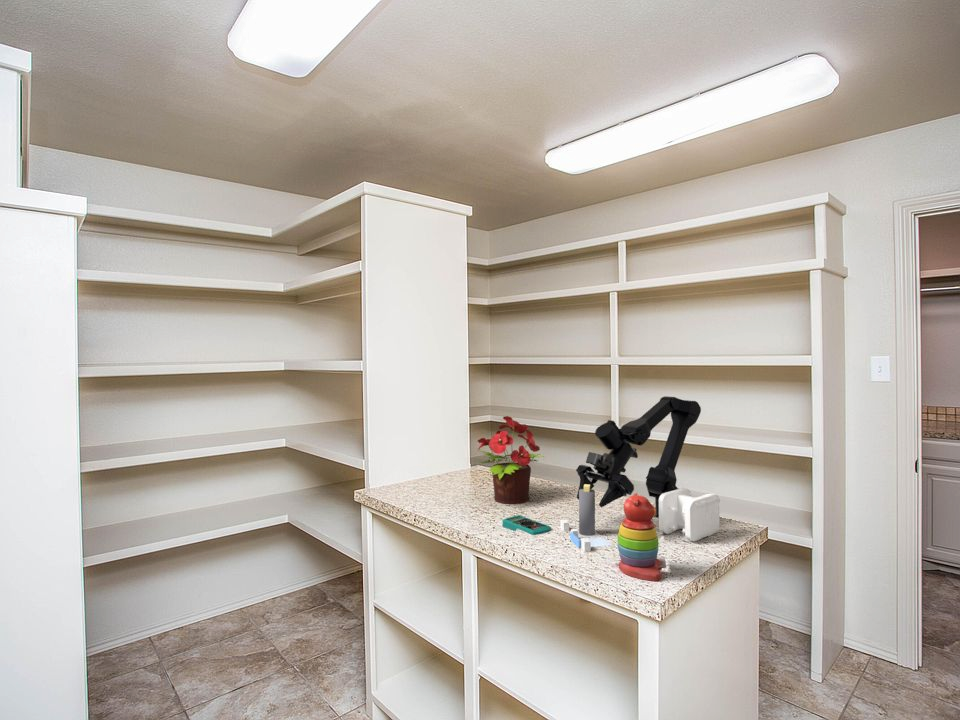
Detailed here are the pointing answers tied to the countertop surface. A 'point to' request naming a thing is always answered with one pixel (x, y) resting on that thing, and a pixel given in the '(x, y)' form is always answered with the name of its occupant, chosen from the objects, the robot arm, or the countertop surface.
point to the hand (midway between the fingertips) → (588, 502)
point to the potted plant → (510, 464)
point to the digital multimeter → (525, 525)
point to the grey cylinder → (587, 511)
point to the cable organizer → (689, 513)
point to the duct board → (583, 542)
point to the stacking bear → (639, 540)
